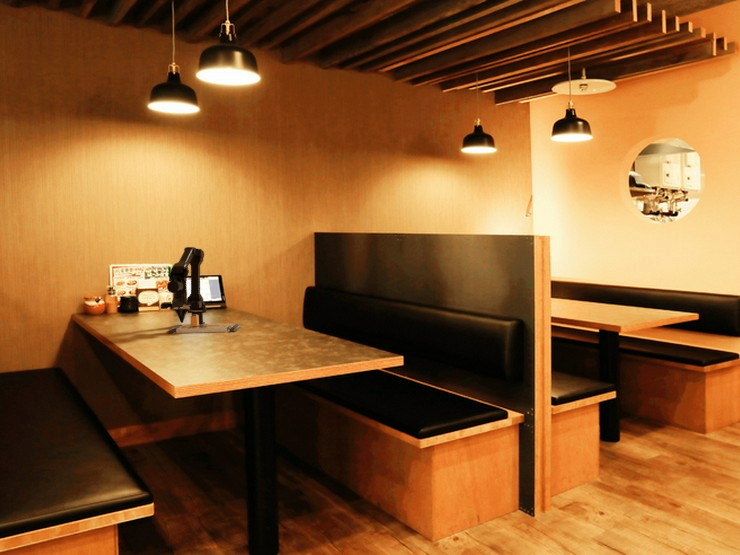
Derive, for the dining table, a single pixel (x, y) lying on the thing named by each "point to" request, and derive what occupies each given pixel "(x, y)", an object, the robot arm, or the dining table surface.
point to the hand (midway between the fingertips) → (181, 322)
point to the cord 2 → (235, 328)
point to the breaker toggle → (194, 320)
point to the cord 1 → (173, 329)
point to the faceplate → (204, 328)
